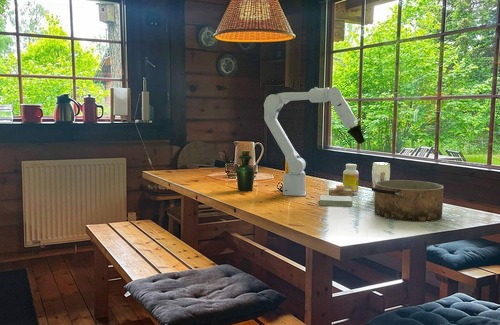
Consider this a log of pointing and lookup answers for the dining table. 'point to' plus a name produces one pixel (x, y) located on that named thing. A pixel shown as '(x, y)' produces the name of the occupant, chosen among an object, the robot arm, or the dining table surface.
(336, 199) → the dock
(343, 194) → the pallet
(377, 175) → the beer glass
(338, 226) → the dining table surface
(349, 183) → the supplement bottle
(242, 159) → the potion bottle
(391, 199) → the cooking pot
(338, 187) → the tan square block
